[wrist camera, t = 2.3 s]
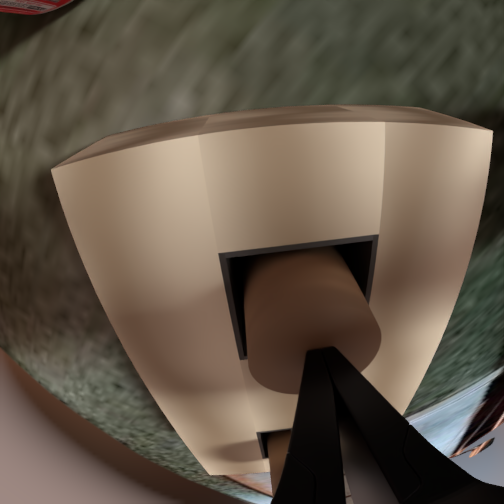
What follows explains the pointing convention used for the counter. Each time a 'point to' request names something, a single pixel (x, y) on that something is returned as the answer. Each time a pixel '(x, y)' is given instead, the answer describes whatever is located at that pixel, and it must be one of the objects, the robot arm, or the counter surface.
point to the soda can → (31, 6)
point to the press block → (271, 246)
